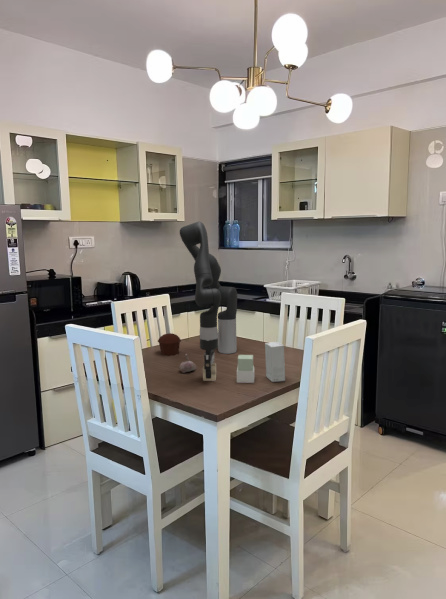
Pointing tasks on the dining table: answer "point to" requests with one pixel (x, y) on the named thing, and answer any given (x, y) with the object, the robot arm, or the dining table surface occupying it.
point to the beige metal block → (213, 373)
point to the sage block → (245, 363)
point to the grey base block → (245, 376)
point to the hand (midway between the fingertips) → (209, 374)
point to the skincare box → (275, 361)
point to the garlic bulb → (187, 365)
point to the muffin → (169, 344)
